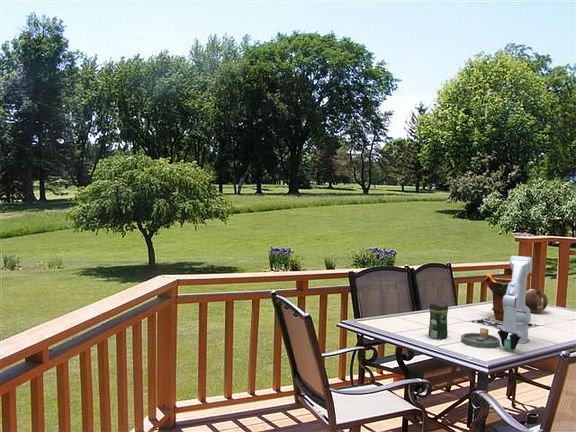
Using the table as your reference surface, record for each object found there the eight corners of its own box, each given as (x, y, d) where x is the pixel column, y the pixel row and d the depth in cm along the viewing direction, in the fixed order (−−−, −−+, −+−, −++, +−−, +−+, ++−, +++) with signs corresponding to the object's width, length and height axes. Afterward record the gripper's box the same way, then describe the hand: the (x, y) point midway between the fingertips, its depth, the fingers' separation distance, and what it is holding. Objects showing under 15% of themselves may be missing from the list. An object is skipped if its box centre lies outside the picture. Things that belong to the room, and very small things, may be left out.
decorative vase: (529, 324, 306) (528, 276, 305) (486, 324, 311) (486, 276, 310) (520, 316, 327) (520, 271, 326) (481, 316, 331) (480, 271, 330)
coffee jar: (437, 334, 284) (439, 299, 283) (449, 337, 278) (451, 302, 277) (425, 336, 279) (426, 301, 278) (437, 340, 272) (438, 304, 271)
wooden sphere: (520, 308, 350) (521, 286, 349) (545, 311, 345) (546, 288, 344) (522, 313, 336) (523, 290, 335) (548, 316, 331) (550, 292, 330)
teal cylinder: (505, 348, 260) (506, 338, 260) (514, 350, 258) (514, 340, 257) (502, 350, 257) (503, 340, 257) (511, 352, 255) (511, 342, 254)
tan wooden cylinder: (481, 337, 276) (482, 327, 276) (489, 338, 273) (489, 329, 273) (478, 338, 273) (478, 329, 273) (486, 340, 270) (486, 330, 270)
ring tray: (469, 335, 282) (469, 331, 282) (504, 342, 270) (504, 337, 270) (455, 342, 269) (455, 337, 268) (491, 350, 257) (491, 345, 257)
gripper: (492, 316, 262) (491, 344, 263) (515, 324, 248) (513, 352, 249) (503, 315, 265) (502, 342, 265) (526, 322, 251) (525, 351, 252)
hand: (508, 347), depth 257 cm, fingers open, 5 cm apart
